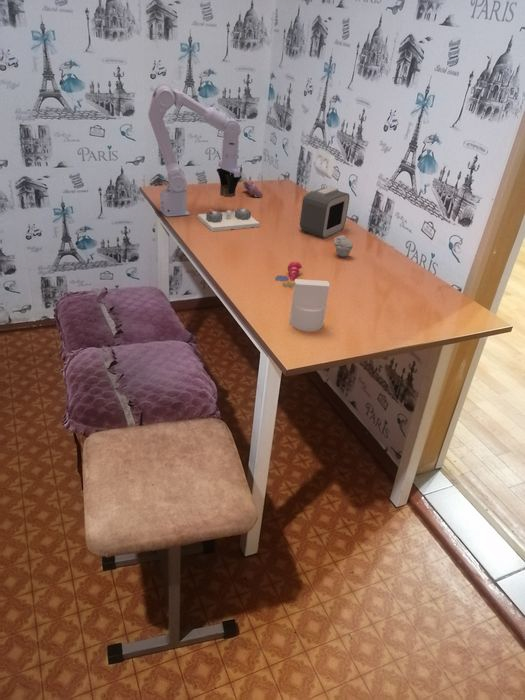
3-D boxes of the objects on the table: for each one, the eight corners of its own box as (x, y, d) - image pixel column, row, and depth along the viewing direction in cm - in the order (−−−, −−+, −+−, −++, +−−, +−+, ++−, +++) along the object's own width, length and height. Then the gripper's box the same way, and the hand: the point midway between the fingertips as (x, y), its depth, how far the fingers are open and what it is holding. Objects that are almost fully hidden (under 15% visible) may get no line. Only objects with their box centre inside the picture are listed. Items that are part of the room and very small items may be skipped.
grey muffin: (335, 250, 198) (339, 231, 194) (354, 256, 195) (357, 236, 192) (328, 255, 194) (331, 236, 190) (347, 261, 191) (350, 241, 187)
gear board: (212, 231, 202) (212, 216, 199) (197, 218, 213) (197, 203, 210) (259, 226, 211) (260, 212, 208) (243, 214, 221) (244, 200, 218)
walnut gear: (223, 197, 213) (224, 189, 211) (217, 193, 217) (217, 185, 215) (237, 196, 215) (238, 188, 213) (231, 192, 219) (231, 184, 218)
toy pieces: (270, 272, 178) (271, 259, 176) (304, 272, 181) (305, 259, 178) (278, 290, 169) (280, 276, 166) (314, 289, 171) (316, 276, 169)
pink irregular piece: (245, 194, 247) (239, 180, 242) (254, 189, 248) (248, 175, 243) (254, 202, 240) (249, 187, 235) (264, 196, 240) (258, 182, 236)
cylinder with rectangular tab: (320, 315, 157) (327, 276, 150) (324, 332, 149) (331, 291, 143) (288, 313, 156) (293, 273, 150) (290, 330, 149) (296, 289, 142)
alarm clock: (321, 240, 205) (328, 197, 197) (295, 231, 211) (301, 189, 202) (344, 229, 217) (351, 189, 208) (319, 221, 222) (325, 181, 214)
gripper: (248, 158, 204) (245, 196, 212) (231, 148, 215) (229, 184, 222) (230, 159, 201) (228, 197, 208) (214, 149, 212) (212, 185, 219)
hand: (227, 190), depth 215 cm, fingers closed on walnut gear, 6 cm apart
